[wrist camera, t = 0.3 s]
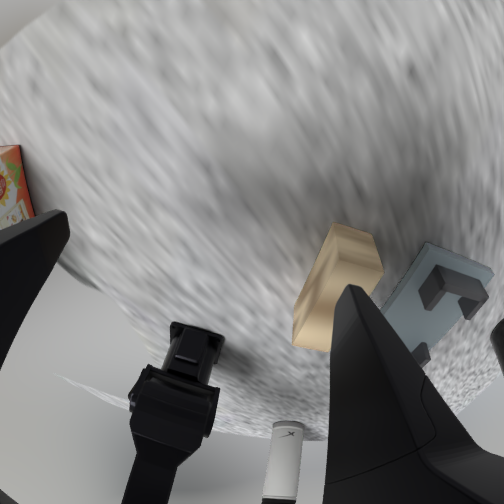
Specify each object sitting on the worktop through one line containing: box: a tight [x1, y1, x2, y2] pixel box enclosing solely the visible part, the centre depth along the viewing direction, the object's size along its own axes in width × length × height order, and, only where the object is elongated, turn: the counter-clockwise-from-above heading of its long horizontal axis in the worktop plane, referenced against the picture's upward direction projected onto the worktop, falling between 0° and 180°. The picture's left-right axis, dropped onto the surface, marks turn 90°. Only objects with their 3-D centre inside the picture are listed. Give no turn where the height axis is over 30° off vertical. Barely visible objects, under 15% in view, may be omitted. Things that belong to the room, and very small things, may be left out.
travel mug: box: [262, 421, 304, 504], centre depth 41 cm, size 6×7×20 cm
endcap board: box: [380, 242, 494, 368], centre depth 25 cm, size 16×10×4 cm, turn 168°
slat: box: [292, 222, 384, 352], centre depth 23 cm, size 10×4×5 cm, turn 167°
